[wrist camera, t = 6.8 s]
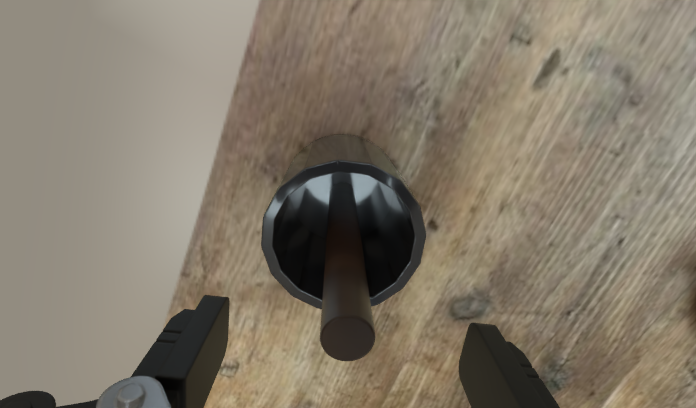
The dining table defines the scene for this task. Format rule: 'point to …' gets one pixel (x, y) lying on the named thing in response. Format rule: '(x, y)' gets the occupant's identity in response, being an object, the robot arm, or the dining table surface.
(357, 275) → the stick
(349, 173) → the crock
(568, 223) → the dining table surface
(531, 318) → the dining table surface
